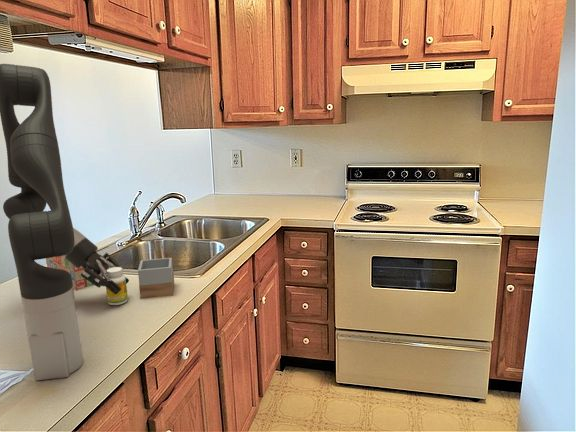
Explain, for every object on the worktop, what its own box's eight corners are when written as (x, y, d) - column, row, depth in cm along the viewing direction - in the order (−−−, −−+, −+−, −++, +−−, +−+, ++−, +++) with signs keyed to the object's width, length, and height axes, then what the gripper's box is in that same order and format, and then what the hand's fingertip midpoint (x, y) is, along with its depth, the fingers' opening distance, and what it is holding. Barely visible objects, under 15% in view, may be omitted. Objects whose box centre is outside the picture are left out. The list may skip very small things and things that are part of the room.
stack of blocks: (47, 274, 144) (42, 239, 141) (66, 269, 149) (61, 235, 146) (76, 290, 130) (71, 252, 128) (96, 284, 135) (92, 246, 132)
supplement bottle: (107, 299, 123) (103, 267, 120) (127, 296, 125) (123, 264, 123) (108, 307, 118) (104, 274, 116) (129, 303, 120) (125, 270, 118)
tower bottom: (172, 296, 126) (171, 282, 125) (140, 299, 124) (139, 285, 123) (174, 284, 134) (173, 271, 133) (144, 287, 133) (142, 273, 131)
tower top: (172, 282, 125) (170, 267, 124) (139, 285, 123) (137, 270, 122) (172, 271, 133) (171, 257, 132) (142, 274, 131) (140, 260, 130)
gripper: (70, 245, 110) (122, 288, 113) (94, 230, 124) (140, 269, 127) (52, 265, 111) (104, 307, 114) (78, 248, 125) (123, 286, 128)
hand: (122, 287), depth 120 cm, fingers closed on supplement bottle, 5 cm apart
